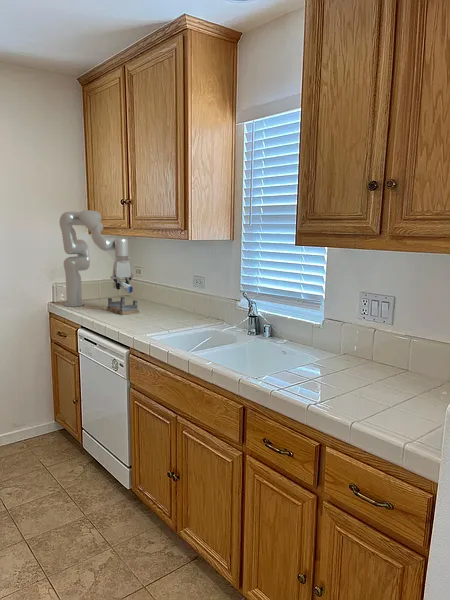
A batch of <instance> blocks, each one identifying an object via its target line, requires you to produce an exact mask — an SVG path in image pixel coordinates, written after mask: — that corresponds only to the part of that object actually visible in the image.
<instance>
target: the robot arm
mask: <svg viewBox="0 0 450 600" xmlns="http://www.w3.org/2000/svg"><path fill="white" fill-rule="evenodd" d="M73 226H85V228H87V230H88V231H89V232H90V233H91V239H92V241H93V243H94V244H95V245H96V246H97V247H98V248H99V249H100V250H101V251H114V255H115V256H114V258H115V260H114V261H113V266H112V274H111V275H110V277H109V278H110V279H112V280H113V282H114V281H115V283H116V288H115V289H116V290H120V283H119V280H120V281H121V279H124V280H125V282H124V283H126V284H130V282H131V281H132V279H133V278H134V277H135V276H134V274H133V273H132V269H131V264H130V259H131V256H129V243H128V242H129V241H128V239H127V238H126V237H125V238H124V237H123V238H119V237H118V238H117V237H105V236H104V235H103V234H102V233H101V232H102V231H103V230H104V224H103V223H102V214H101V213H100V212H99V211H97V210H93V209H92V210H91V209H90V210H88V209H85V210H82V211H66V212H64V213H62V214H61V215H60V218H59V228H60V230H61V231H60V232H61V235H62V243H63V245H62V246H63V250H64V252H65V254H66V255H74V256H68V257H66V258H65V259H64V260H63V268H64V274H65V291H66V292H65V293H66V302H64V303H63V305H64V307H82V306H84V305H85V302H83V294H82V293H83V291H82V290H83V289H82V276H81V274H80V272H82V271H86V270H88V269H89V268H90V265H91V260H90V253H89V252H90V251H89V246H88V244H87V242H86V241H85V240H83V239H78V238H77V233H76V229H75V228H74V227H73ZM75 255H76V256H75ZM115 278H116V279H115Z"/></svg>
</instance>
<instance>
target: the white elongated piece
mask: <svg viewBox="0 0 450 600" xmlns="http://www.w3.org/2000/svg"><path fill="white" fill-rule="evenodd" d="M114 278H115V277H114ZM115 279H116V278H115ZM119 283H120V289H123V290H124V291H125V292H126V293H129V294H130V293H133V292H134V287H133V285H131V284H130V283H129V284H126V283H125V282H124V281H122V280H121V279H120V280H119ZM112 288H113V289H116V283H115V281H114V280H113V282H112Z"/></svg>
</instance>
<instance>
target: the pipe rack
mask: <svg viewBox="0 0 450 600" xmlns="http://www.w3.org/2000/svg"><path fill="white" fill-rule="evenodd" d="M125 300H126V299H125V297H124V296H120V300H116V301H113V298H112V297H108V298H107V306H106V311H109V312H112V313H114V314H115V313H116V314H118V315H122V316H127V315H128V316H129V315H137V314H139V313H140V309H138V300H136V299H133V300H132V304H126V305H125V303H126V302H125Z"/></svg>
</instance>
